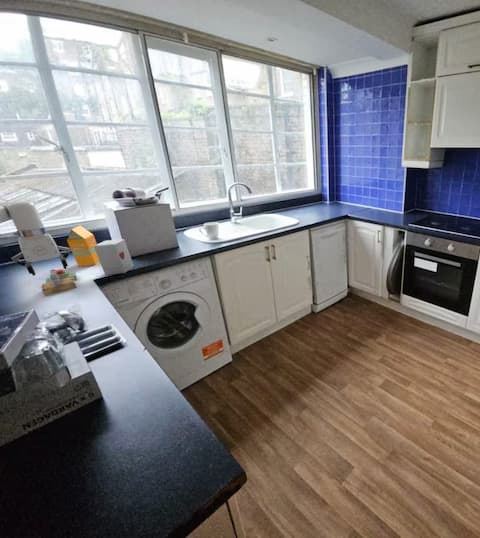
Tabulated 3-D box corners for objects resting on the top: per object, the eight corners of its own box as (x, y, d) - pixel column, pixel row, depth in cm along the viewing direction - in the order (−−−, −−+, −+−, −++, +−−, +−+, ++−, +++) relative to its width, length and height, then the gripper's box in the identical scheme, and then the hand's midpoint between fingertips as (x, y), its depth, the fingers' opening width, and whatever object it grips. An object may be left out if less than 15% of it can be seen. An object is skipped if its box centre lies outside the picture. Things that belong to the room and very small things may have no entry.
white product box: (124, 273, 143) (113, 244, 137) (104, 275, 142) (92, 245, 136) (134, 266, 151) (124, 238, 145) (115, 268, 150) (104, 240, 144)
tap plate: (43, 297, 122) (39, 290, 121) (43, 289, 129) (39, 283, 128) (78, 288, 129) (75, 281, 128) (76, 281, 136) (73, 274, 135)
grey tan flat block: (60, 284, 126) (55, 273, 124) (55, 285, 125) (49, 274, 123) (60, 279, 131) (54, 269, 129) (55, 281, 130) (49, 270, 128)
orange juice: (103, 259, 163) (89, 224, 155) (96, 265, 155) (80, 228, 147) (86, 261, 161) (71, 225, 153) (78, 267, 153) (61, 230, 145)
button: (54, 276, 133) (52, 273, 132) (54, 274, 135) (52, 271, 135) (64, 274, 135) (63, 270, 135) (64, 272, 137) (62, 268, 137)
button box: (48, 287, 131) (44, 279, 130) (47, 282, 136) (44, 274, 134) (77, 280, 138) (74, 272, 136) (76, 275, 142) (73, 268, 141)
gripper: (-1, 239, 111) (20, 280, 117) (62, 230, 122) (77, 268, 129) (1, 235, 116) (21, 274, 122) (61, 227, 127) (76, 263, 134)
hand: (50, 271), depth 126 cm, fingers open, 9 cm apart
